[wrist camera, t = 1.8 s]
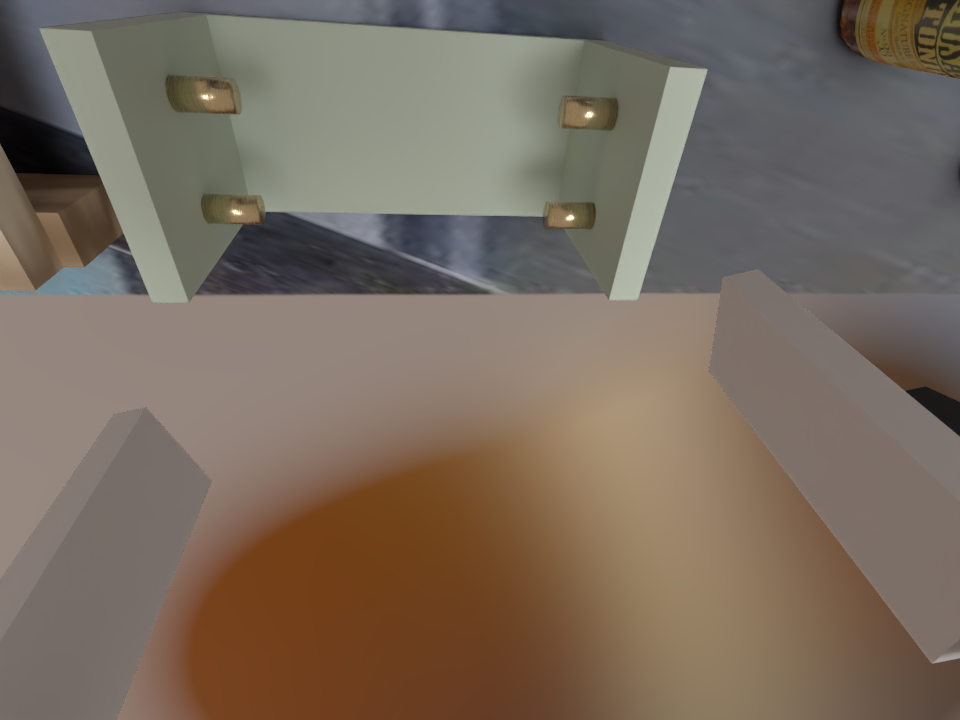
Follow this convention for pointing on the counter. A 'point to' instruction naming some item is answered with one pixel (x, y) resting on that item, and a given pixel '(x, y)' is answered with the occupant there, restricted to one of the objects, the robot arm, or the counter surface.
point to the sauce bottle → (905, 33)
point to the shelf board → (22, 237)
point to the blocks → (73, 214)
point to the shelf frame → (370, 132)
